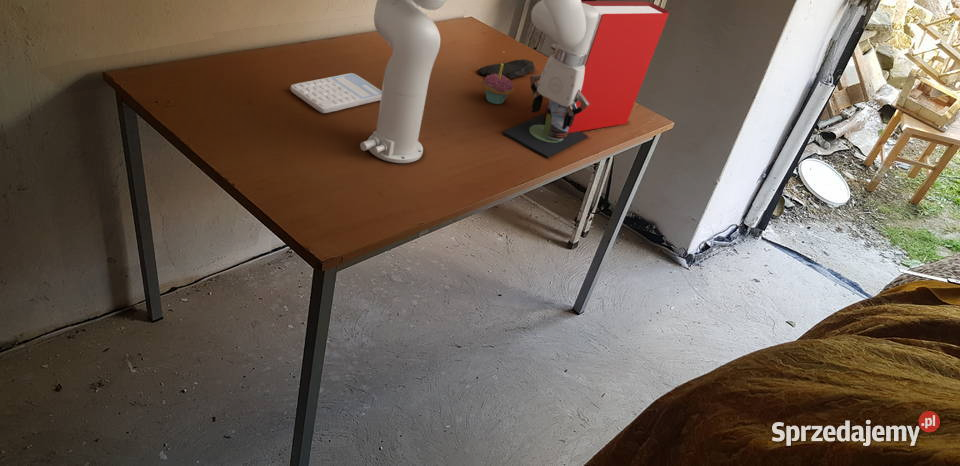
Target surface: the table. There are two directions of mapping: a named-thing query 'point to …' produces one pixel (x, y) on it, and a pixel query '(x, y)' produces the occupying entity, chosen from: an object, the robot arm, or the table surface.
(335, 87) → the calculator
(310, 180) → the table surface
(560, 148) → the desk mat
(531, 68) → the wood
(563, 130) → the beverage can
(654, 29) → the book
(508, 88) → the cupcake
